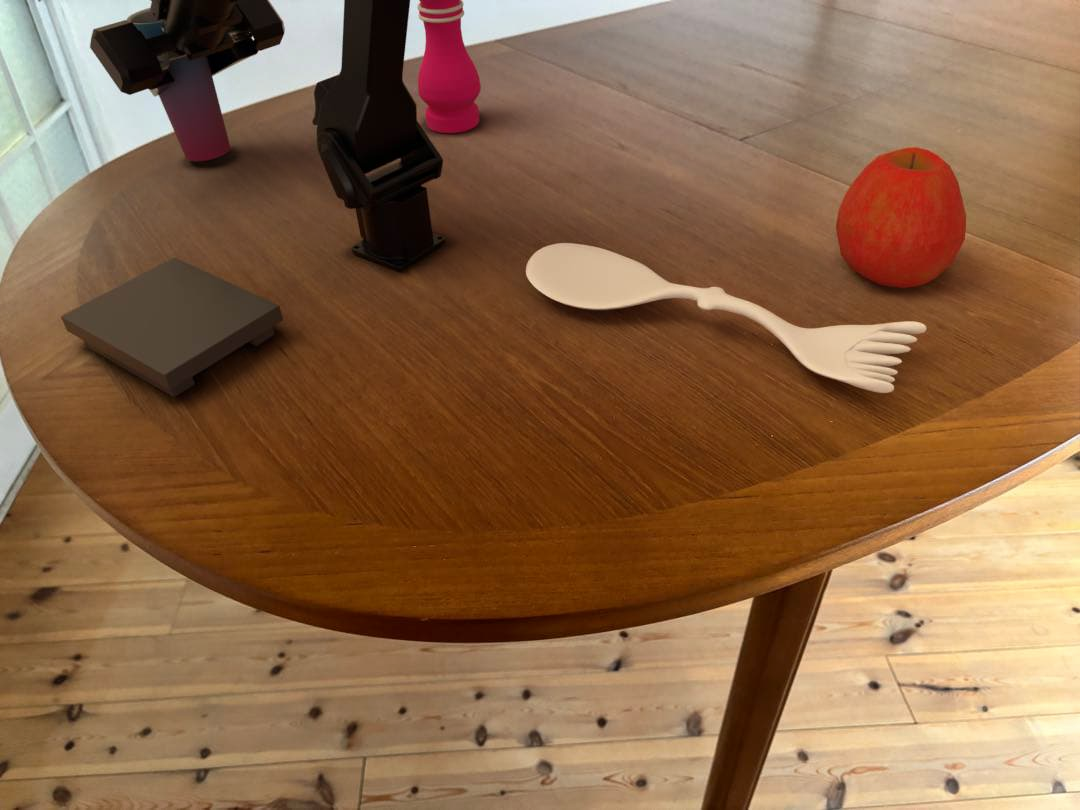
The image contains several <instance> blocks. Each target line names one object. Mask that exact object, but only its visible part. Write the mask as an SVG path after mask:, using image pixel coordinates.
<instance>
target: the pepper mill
mask: <svg viewBox="0 0 1080 810" xmlns="http://www.w3.org/2000/svg"><path fill="white" fill-rule="evenodd" d="M418 1H419V3H418V4H417V10H418V19H420V21H422V22H423V27H424V31H425V32H424V33H425V46H424V47H425V48H424V53H423V57H422V61H421V64H420V68H419V70H418V74H417V75H418V76H417V92H418V96H419V98H420V99H421V100H422V101H423V103H424V104H425V105H427V107H426V108H425V110H424V115H425V124H426V126H427V128H428V129H429V130H431V131H433V132H436V133H440V134H458V133H459V134H460V133H463V132H467V131H469V130H472V129H474V128H476V127H477V126H478V125H479V123H480V110H479V105H478V104H477V103H476V102H475V101H476V100H477V99H478V97H479V96H480V93H481V90H482V89H481V88H482V85H481V80H480V75H479V72H478V70H477V67H476V65H475V63H474V61H473V59H472V57H471V56H470V54H469V53H468V51H467V50H468V49H467V48H466V46H465V44H464V43H465V42H464V39H463V33H462V32H463V31H462V18H463V16H464V15H465V10H464V2H463V0H418Z"/></svg>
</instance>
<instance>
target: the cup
mask: <svg viewBox="0 0 1080 810" xmlns="http://www.w3.org/2000/svg"><path fill="white" fill-rule="evenodd" d="M126 20H128V21H131V22H133V24H134V25H135V27H136V28H137V29H138V30H140V31H141V32H142V34H143V35H144V37H145V38H146V39H149V38H152V37H155V36H159V35H162V34H164V32H163V31H162V26H163V25H164V22H163V21H162V19H161V20H158V21H157V20H156V18H155V17H154V15H153V14H152V13H151V11H150V7H147V8H144V9H141V10H138V11H136V12H133V13H132V14H130V15H129V16H127V18H126ZM167 70H168V71H169V73H170V74H171V76H172V77H173V78H174V80H175V82H174V83H173V84H172V85H170V86H169V87H168V88H167V89H166V90H165V91H163V92H162V93H161V94H159V95H158V97H159V100H160V102H161V104H162V106H163V108H164V111H165V113H166V116H167V118H168V120H169V122H170V125H171V127H172V130H173V132H174V134H175V137H176V139H177V142H178V143H179V146H180V148H181V151H182V152H183V155H184V158H185V159H187V160H188V161H191V162H204V161H205V162H206V161H210V160H214V159H218V158H220V157H222V156H224V155H225V154H227V153H228V152H229V151H230V149H231V144H230V140H229V137H228V132H227V129H226V124H225V121H224V115H223V113H222V109H221V106H220V100H219V97H218V93H217V90H216V86H215V81H214V76H212V74H211V70H210V66H209V62H208V58H207V56H204V57H201V58H198V59H195V60H191V61H190V60H189V58H188V57H187V56H185V57H182V58H179V59H175V60H172V61H170V62H169V68H168V69H167Z"/></svg>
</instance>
